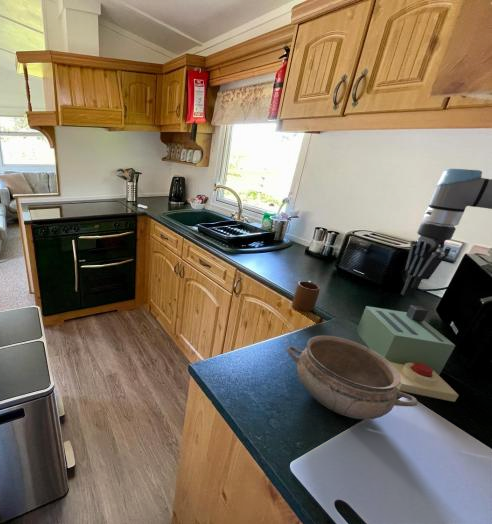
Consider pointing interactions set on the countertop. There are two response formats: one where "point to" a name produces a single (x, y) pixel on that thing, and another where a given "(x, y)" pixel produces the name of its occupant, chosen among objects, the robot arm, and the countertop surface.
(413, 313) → the toaster slider
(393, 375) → the cooking pot
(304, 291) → the mug
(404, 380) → the box
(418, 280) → the robot arm
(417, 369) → the button
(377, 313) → the toaster
